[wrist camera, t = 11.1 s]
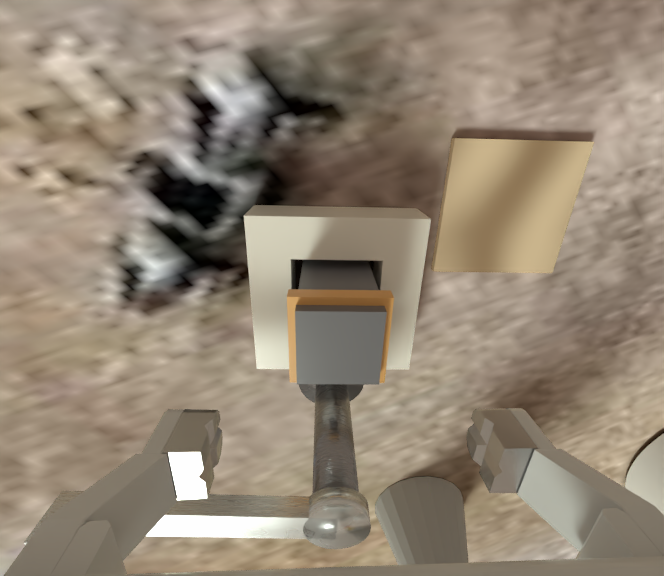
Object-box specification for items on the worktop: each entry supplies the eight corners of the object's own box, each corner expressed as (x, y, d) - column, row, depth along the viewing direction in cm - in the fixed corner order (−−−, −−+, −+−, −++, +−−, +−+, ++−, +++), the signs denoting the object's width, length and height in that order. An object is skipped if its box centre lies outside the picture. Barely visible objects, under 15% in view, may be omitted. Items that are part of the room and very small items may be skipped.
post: (365, 349, 25) (388, 465, 16) (361, 400, 27) (380, 529, 18) (298, 348, 25) (285, 466, 16) (299, 400, 27) (288, 530, 18)
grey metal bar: (371, 487, 16) (378, 537, 14) (364, 527, 17) (369, 578, 15) (57, 479, 15) (17, 530, 13) (74, 522, 17) (40, 575, 15)
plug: (371, 247, 22) (396, 304, 14) (366, 312, 24) (386, 390, 16) (297, 246, 22) (285, 302, 14) (299, 311, 24) (288, 390, 16)
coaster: (587, 141, 19) (594, 141, 19) (547, 270, 23) (552, 273, 22) (451, 138, 19) (454, 138, 19) (431, 268, 22) (433, 271, 22)
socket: (416, 208, 21) (431, 219, 18) (399, 343, 25) (408, 369, 22) (254, 205, 20) (243, 215, 18) (264, 343, 24) (256, 369, 22)
